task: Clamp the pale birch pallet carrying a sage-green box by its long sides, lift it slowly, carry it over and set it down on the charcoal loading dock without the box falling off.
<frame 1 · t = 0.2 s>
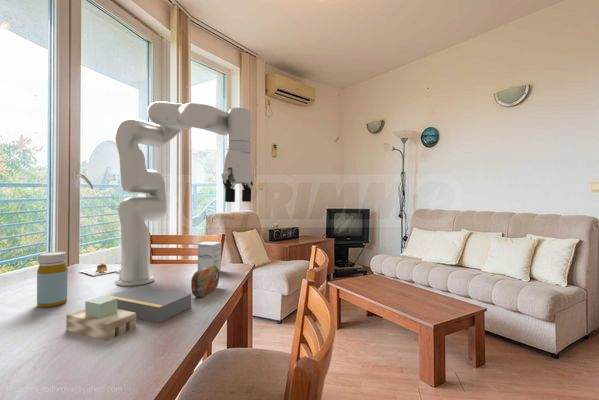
hand: (238, 201, 99), 31 cm above the table, tool pointing down, fingers open, 9 cm apart
tin: (205, 293, 104), on the table
dessert: (101, 273, 130), on the table
dock: (148, 309, 88), on the table
supplement box: (209, 272, 132), on the table
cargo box: (101, 313, 75), point 4 cm above the table, touching pallet
bottle: (52, 304, 91), on the table
pallet: (101, 330, 75), on the table, touching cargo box
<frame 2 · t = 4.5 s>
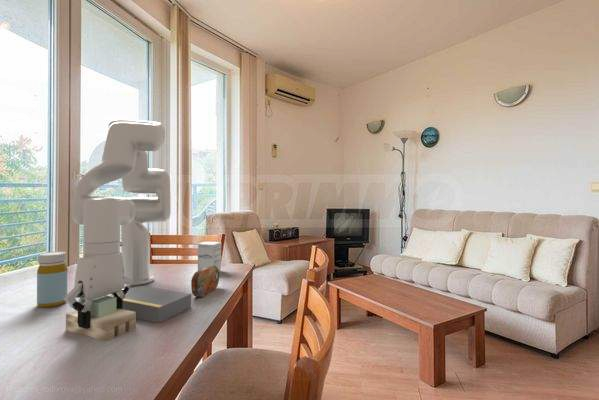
hand: (101, 320, 75), 2 cm above the table, tool pointing down, fingers closed on pallet, 7 cm apart
pallet: (101, 329, 75), on the table, touching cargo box, gripper
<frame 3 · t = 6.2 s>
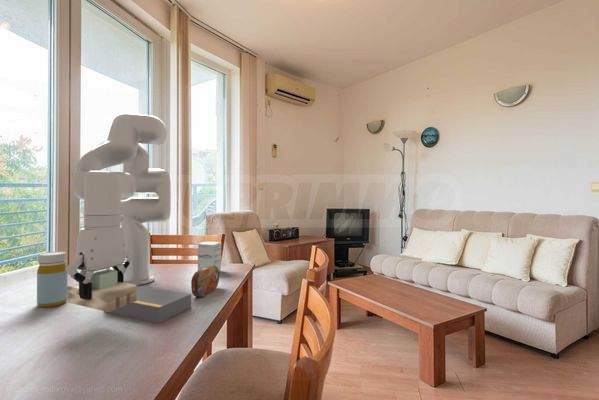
hand: (102, 293, 76), 9 cm above the table, tool pointing down, fingers closed on pallet, 7 cm apart
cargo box: (101, 285, 76), point 10 cm above the table, touching pallet
pallet: (102, 301, 76), point 6 cm above the table, touching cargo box, gripper
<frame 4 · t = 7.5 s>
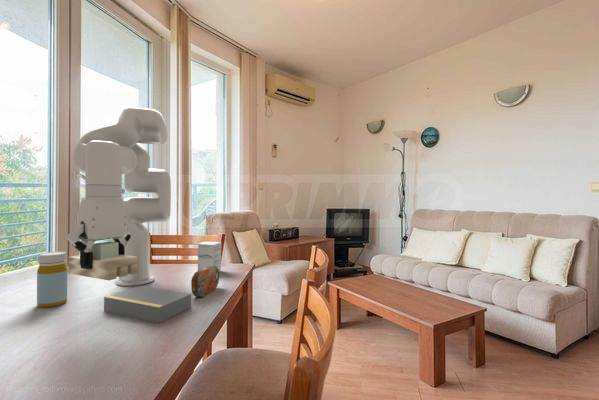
hand: (103, 264, 76), 16 cm above the table, tool pointing down, fingers closed on pallet, 7 cm apart
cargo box: (102, 256, 76), point 18 cm above the table, touching pallet
pallet: (103, 273, 76), point 14 cm above the table, touching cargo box, gripper
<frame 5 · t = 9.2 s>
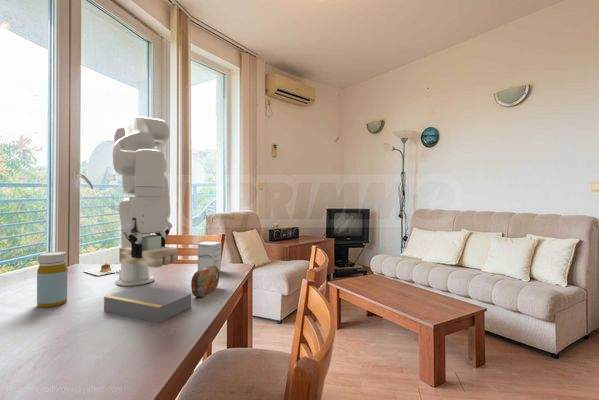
hand: (148, 254, 88), 16 cm above the table, tool pointing down, fingers closed on pallet, 7 cm apart
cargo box: (148, 248, 88), point 18 cm above the table, touching pallet
pallet: (148, 262, 88), point 14 cm above the table, touching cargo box, gripper
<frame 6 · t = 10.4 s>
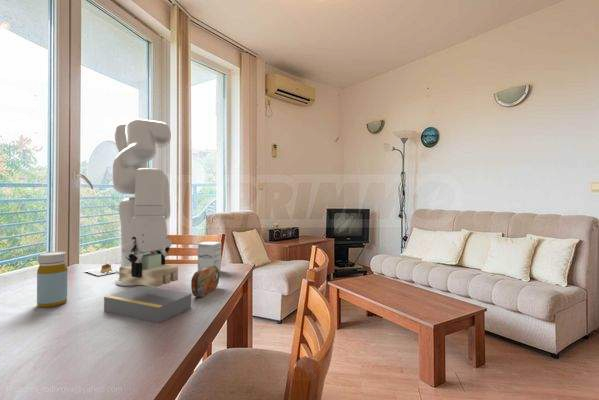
hand: (148, 273, 88), 10 cm above the table, tool pointing down, fingers closed on pallet, 7 cm apart
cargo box: (148, 266, 88), point 12 cm above the table, touching pallet
pallet: (148, 280, 88), point 8 cm above the table, touching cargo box, gripper
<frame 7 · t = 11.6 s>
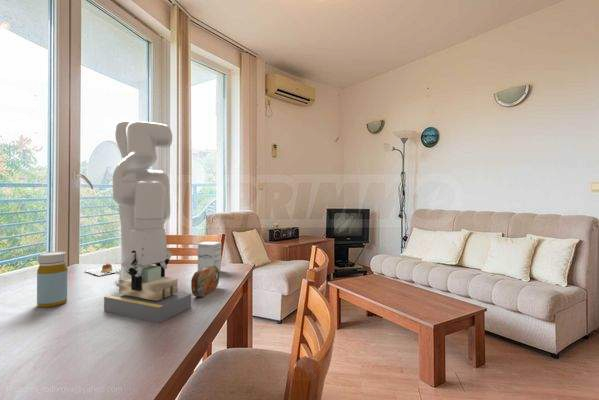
hand: (148, 285, 88), 7 cm above the table, tool pointing down, fingers closed on pallet, 7 cm apart
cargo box: (148, 279, 89), point 9 cm above the table, touching pallet
pallet: (148, 293, 89), point 5 cm above the table, touching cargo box, gripper
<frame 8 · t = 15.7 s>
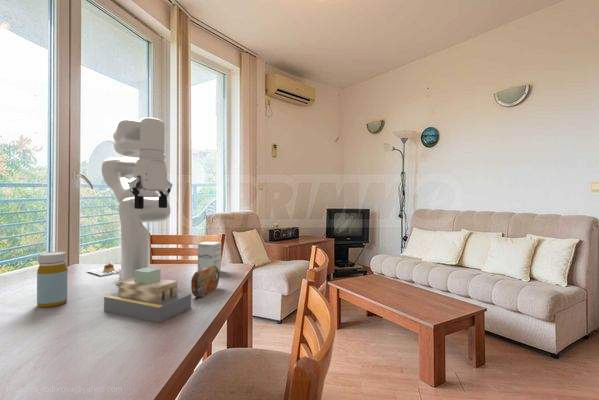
hand: (151, 208, 102), 28 cm above the table, tool pointing down, fingers open, 9 cm apart
pallet: (148, 295, 88), point 4 cm above the table, touching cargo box, dock
at the end: pallet inside the target area on the dock (0.1 cm from its centre), point 4.0 cm above the dock's base; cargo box 0.3 cm off-centre on the pallet, point 4.0 cm above the pallet's base; the gripper is holding nothing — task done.
